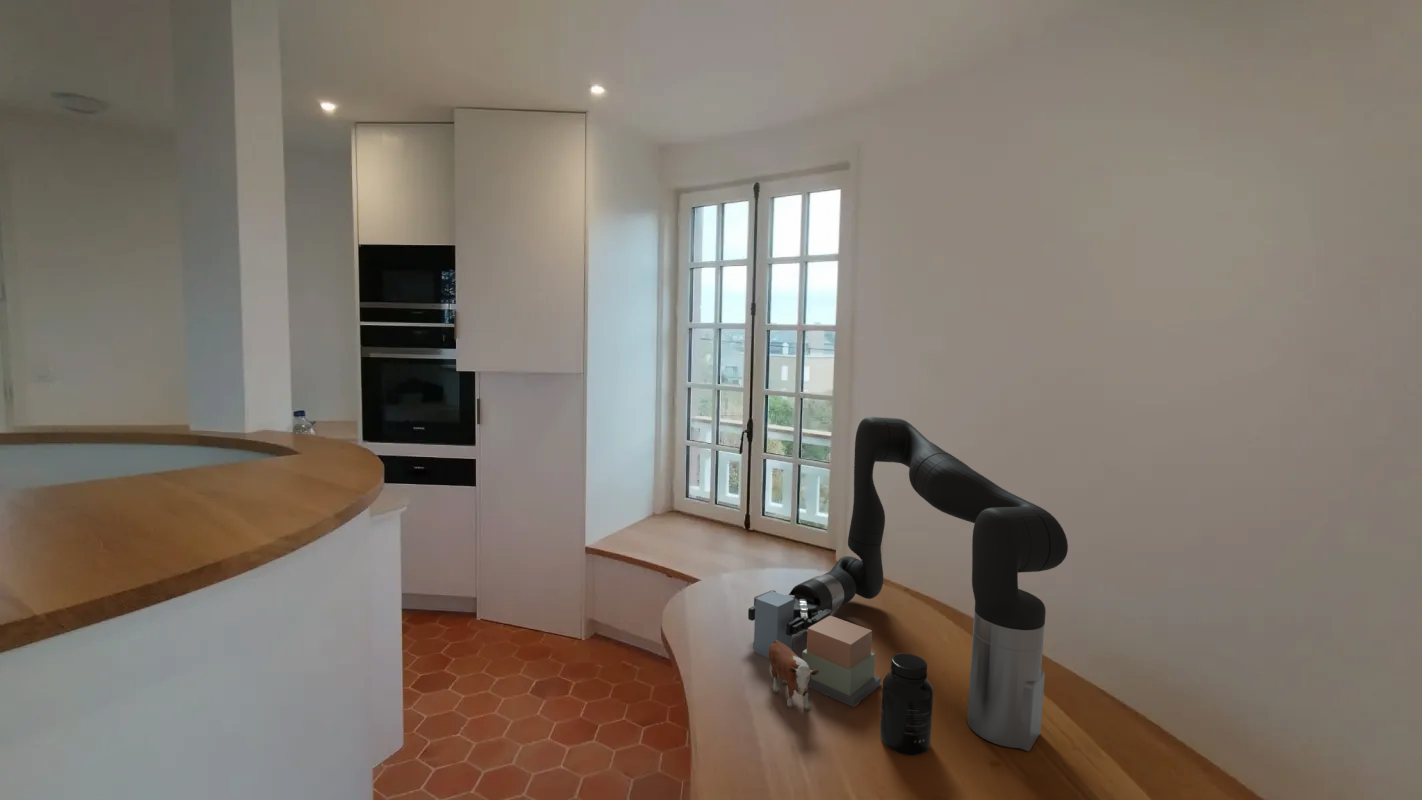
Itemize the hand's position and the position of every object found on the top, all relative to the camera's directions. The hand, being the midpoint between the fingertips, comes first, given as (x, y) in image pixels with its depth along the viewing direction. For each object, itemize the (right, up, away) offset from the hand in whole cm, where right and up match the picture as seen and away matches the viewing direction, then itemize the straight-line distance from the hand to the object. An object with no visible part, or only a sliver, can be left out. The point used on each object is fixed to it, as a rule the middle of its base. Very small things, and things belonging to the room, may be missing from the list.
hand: (768, 622), depth 111 cm
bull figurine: (+2, -7, -14) cm, 16 cm away
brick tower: (+11, -7, -8) cm, 15 cm away
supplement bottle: (+17, -9, -23) cm, 30 cm away
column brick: (+1, -6, +2) cm, 6 cm away
